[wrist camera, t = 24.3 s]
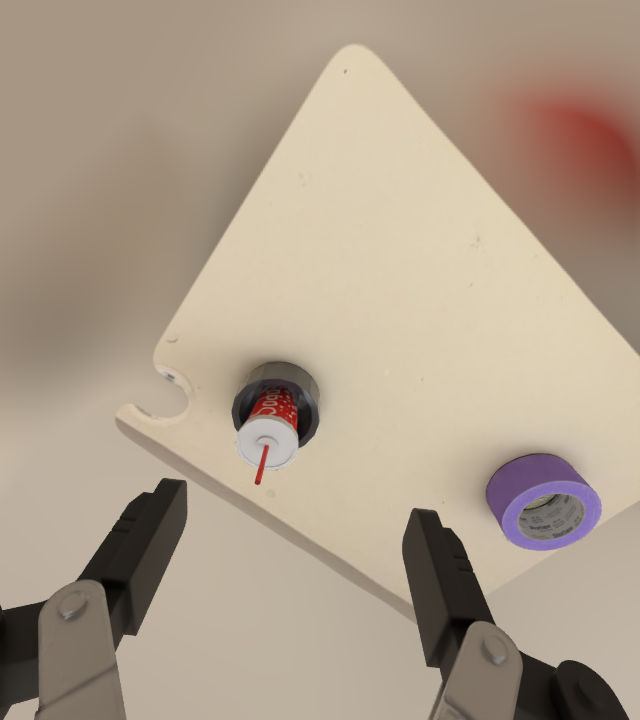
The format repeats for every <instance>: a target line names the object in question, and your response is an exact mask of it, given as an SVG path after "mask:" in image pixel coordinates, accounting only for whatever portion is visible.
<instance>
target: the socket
mask: <svg viewBox="0 0 640 720" xmlns="http://www.w3.org/2000/svg"><path fill="white" fill-rule="evenodd" d="M268 385H281V386H285V387H288V388H292V389H293V390H294V391H295V393H296V395H297V399H298V411H297V434H298V442H299V445H298V446H299V448H300V447H302V446H304V445H305V444H306V443H307V442H308V441H309V440H310V439H311V438H312V437H313V436H314V435H315V432H316V430H317V427H318V424H319V420H320V395H319V390H318V387H317V385H316V383H315V381H314V379H313V378H312V377H311V376H310V375H309V374H308V373H307V372H306V371H305V370H303V369H302V368H300V367H298V366H296V365H294V364H291V363H286V362H270V363H266V364H263V365H261V366H259V367H257V368H255V369H254V370H253V371H252V372H251V373H250V374H249V375H248V376H247V377H246V379H245V380H244V382H243V383H242V385H241V387H240V389H239V391H238V393H237V395H236V397H235V400H234V404H233V408H232V418H233V422H234V427H235V429H236V430H237V431H238V432H239V430H240V428H241V427H242V425H243V424H244V423H245V422H246V421H247V419H248V417H249V415H250V413H251V412H252V410H253V408H254V406H255V404H256V402H257V400H258V398H259V396H260V394H261V392H262V390H263V389H264V388H265V387H266V386H268Z"/></svg>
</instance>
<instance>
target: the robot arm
mask: <svg viewBox="0 0 640 720" xmlns="http://www.w3.org/2000/svg"><path fill="white" fill-rule="evenodd" d="M186 520H187V483H186V481H185V480H176V479H168V478H163V479H162V480H161V481H160V483H159V484H158V486H157V488H156V489H155V491H154V492H153V493H147V492H143V493H142V494H141V495H139V496H138V497H137V498H135V499H134V500H133V501H131V502H130V503H129V504H128V506H127V507H126V509H125V510H124V512H123V513H122V515H121V516H120V519H119V520H118V521H117V522H116V523H115V525H114V526H113V528H112V531H110V532H109V534H108V535H107V537H106V538H105V540H104V541H103V543H102V544H101V546H100V547H99V549H98V550H97V551H96V553H95V554H94V556H93V557H92V559H91V560H90V562H89V563H88V565H87V566H86V568H85V569H84V571H83V572H82V574H81V575H80V576H79V578H78V579H77V580H76V581H75V582H73V583H70V584H69V585H66V586H64V587H63V588H61V589H60V590H58V591H57V592H56V593H55V594H53V595H52V596H51V597H50V598H49V599H48V600H46V601H43V602H39V603H35V604H30V605H26V606H21V607H16V608H12V609H6V610H2V608H1V606H0V720H3V719H4V717H5V716H6V714H7V712H8V711H9V709H10V707H11V705H13V704H16V703H20V702H23V701H27V700H30V699H34V698H37V697H39V708H38V711H36V713H35V718H34V720H126V714H125V708H124V702H123V696H122V691H121V684H120V679H119V672H118V667H117V661H116V655H115V652H116V650H117V647H118V645H119V643H120V641H121V639H122V637H123V635H134V636H136V635H137V633H138V630H139V628H140V626H141V624H142V622H143V619H144V617H145V615H146V613H147V610H148V608H149V606H150V604H151V601H152V599H153V597H154V595H155V592H156V590H157V588H158V586H159V584H160V582H161V579H162V577H163V575H164V573H165V571H166V568H167V566H168V564H169V562H170V559H171V557H172V555H173V553H174V550H175V548H176V546H177V544H178V542H179V539H180V537H181V535H182V533H183V530H184V527H185V524H186ZM402 554H403V560H404V564H405V569H406V573H407V578H408V583H409V587H410V592H411V596H412V601H413V605H414V610H415V615H416V619H417V624H418V628H419V633H420V637H421V642H422V646H423V651H424V656H425V660H426V665H427V667H435V668H440V672H441V676H442V680H443V681H442V683H441V685H440V688H439V691H438V694H437V696H436V699H435V701H434V704H433V707H432V709H431V712H430V715H429V717H428V720H629V718H628V716H627V714H626V712H625V711H624V709H623V707H622V705H621V704H620V702H619V700H618V698H617V696H616V695H615V693H614V692H613V690H612V689H611V688H610V686H609V685H608V684H607V683H606V682H605V681H604V680H603V679H602V678H601V677H600V676H599V675H598V674H597V673H596V672H595V671H593V670H592V669H591V668H589V667H587V666H586V665H584V664H582V663H579V662H577V661H573V660H566V661H564V662H561V663H560V665H559V666H558V667H557V668H555V667H552V666H550V665H548V664H546V663H544V662H541V661H539V660H537V659H535V658H533V657H530V656H528V655H526V654H524V653H523V652H521V651H519V650H518V649H517V647H516V645H515V644H514V642H513V641H512V639H511V638H510V637H509V636H508V635H507V634H506V633H505V632H504V631H502V630H501V629H500V628H499V627H497V626H496V624H495V622H494V620H493V617H492V615H491V612H490V610H489V608H488V605H487V603H486V600H485V598H484V595H483V593H482V590H481V588H480V585H479V583H478V580H477V578H476V576H475V573H473V568H472V566H471V563H470V561H469V560H468V556H467V554H466V551H465V549H464V546H463V544H462V542H461V540H460V539H459V538H458V537H457V535H456V534H455V533H454V532H453V531H452V529H451V528H444V527H442V524H441V521H440V519H439V516H438V514H437V512H436V511H435V510H427V509H418V508H413V510H412V512H411V515H410V518H409V521H408V524H407V528H406V531H405V534H404V537H403V543H402Z"/></svg>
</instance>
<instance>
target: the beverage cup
mask: <svg viewBox="0 0 640 720" xmlns="http://www.w3.org/2000/svg"><path fill="white" fill-rule="evenodd" d="M297 411H298V399H297V395H296V393H295V391H294V390H293V389H292V388H288V387H285V386H281V385H268V386H266V387H265V388H264V389H263V390H262V392H261V394H260V396H259V398H258V400H257V402H256V404H255V406H254V408H253V410H252V412H251V413H250V415H249V417H248V419H247V421H246V422H245V423H244V424H243V425H242V427H241V428H240V430H239V432H238V435H237V439H236V447H237V452H238V453H239V455H240V456H241V458H242V459H243V460H244V461H245V462H246V463H248V464H249V465H251V466H252V467H254V468H258V472H257V476H256V479H255V484H256V485H259V484H260V482H261V478H262V474H263V470H278V469H281V468H283V467H286V466H288V465H289V464H290V463H291V462H292V461H293V460H294V459H295V457H296V454H297V452H298V449H299V446H298V445H299V442H298V434H297Z"/></svg>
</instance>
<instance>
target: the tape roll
mask: <svg viewBox="0 0 640 720" xmlns="http://www.w3.org/2000/svg"><path fill="white" fill-rule="evenodd" d="M552 494H557V495H556V497H555V498H554V499H553V500H552V501H550V502H549V503H547V504H546V505H544V506H542V507H539V508H536V509H532V510H524V509H525V507H526V506H528V505H529V504H530V503H531V502H533V501H535V500H537V499H539V498H541V497H544V496H547V495H552ZM486 498H487V502H488V504H489V506H490V508H491V510H492V512H493V514H494V515H495V517H496V519H497V521H498V523H499V525H500V527H501V529H502V531H503V532H504V534H505V536H506V537H507V539H509V540H510V541H511V542H512V543H513V544H515V545H517V546H519V547H521V548H524V549H528V550H535V551H546V550H554V549H558V548H562V547H565V546H568V545H570V544H573V543H575V542H576V541H578V540H580V539H582V538H583V537H584V536H586V535H587V534H588V533H589V532H590V531H591V530H592V529H593V528H594V527H595V526H596V524H597V523H598V521H599V519H600V516H601V512H602V505H601V500H600V498H599V496H598V495H597V493H596V492H595V491H594V490H593V489H592V488H591V487H590V486H589V485H588V484H587V482H586V481H585V480H584V479H583V478H582V477H581V476H580V475H579V474H578V473H577V472H576V471H575V470H574V469H573V467H572V466H571V465H570V464H569V463H567V462H566V461H565V460H563V459H561V458H559V457H556V456H553V455H547V454H535V455H529V456H525V457H521V458H518V459H516V460H513V461H512V462H510V463H508V464H506V465H505V466H503V467H502V468H501V469H500V470H499V471H497V472H496V473H495V475H494V476H493V477H492V479H491V480H490V482H489V484H488V487H487V491H486Z"/></svg>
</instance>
